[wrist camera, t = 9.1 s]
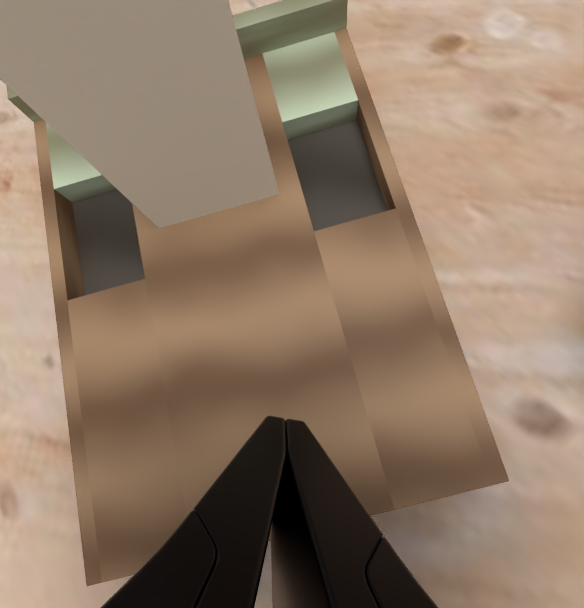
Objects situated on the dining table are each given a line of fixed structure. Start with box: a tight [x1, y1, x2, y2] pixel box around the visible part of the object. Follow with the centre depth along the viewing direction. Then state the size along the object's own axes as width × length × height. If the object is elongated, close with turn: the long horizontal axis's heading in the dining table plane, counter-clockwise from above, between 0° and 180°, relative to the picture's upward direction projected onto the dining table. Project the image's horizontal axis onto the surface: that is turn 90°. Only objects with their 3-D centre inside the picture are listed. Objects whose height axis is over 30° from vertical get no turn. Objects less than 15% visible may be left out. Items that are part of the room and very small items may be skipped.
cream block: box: [0, 0, 280, 228], centre depth 16 cm, size 7×7×14 cm
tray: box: [7, 0, 509, 586], centre depth 21 cm, size 27×20×4 cm
